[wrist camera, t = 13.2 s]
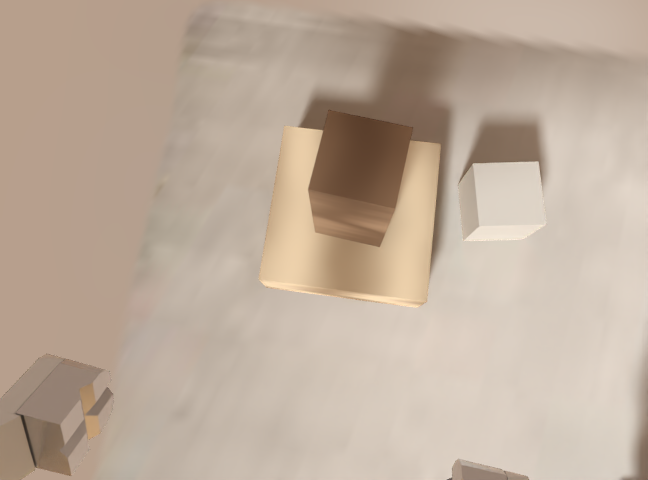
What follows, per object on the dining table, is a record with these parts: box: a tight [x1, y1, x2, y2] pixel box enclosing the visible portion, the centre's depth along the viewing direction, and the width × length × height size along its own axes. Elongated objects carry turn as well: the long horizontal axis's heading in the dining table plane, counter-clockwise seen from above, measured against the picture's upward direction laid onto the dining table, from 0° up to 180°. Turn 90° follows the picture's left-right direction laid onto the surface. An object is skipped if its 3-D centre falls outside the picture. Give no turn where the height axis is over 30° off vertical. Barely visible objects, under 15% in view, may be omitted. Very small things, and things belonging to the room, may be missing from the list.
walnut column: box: [308, 110, 413, 247], centre depth 26 cm, size 4×4×8 cm
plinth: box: [259, 126, 441, 308], centre depth 32 cm, size 10×10×4 cm
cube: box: [458, 161, 547, 241], centre depth 32 cm, size 4×4×4 cm
